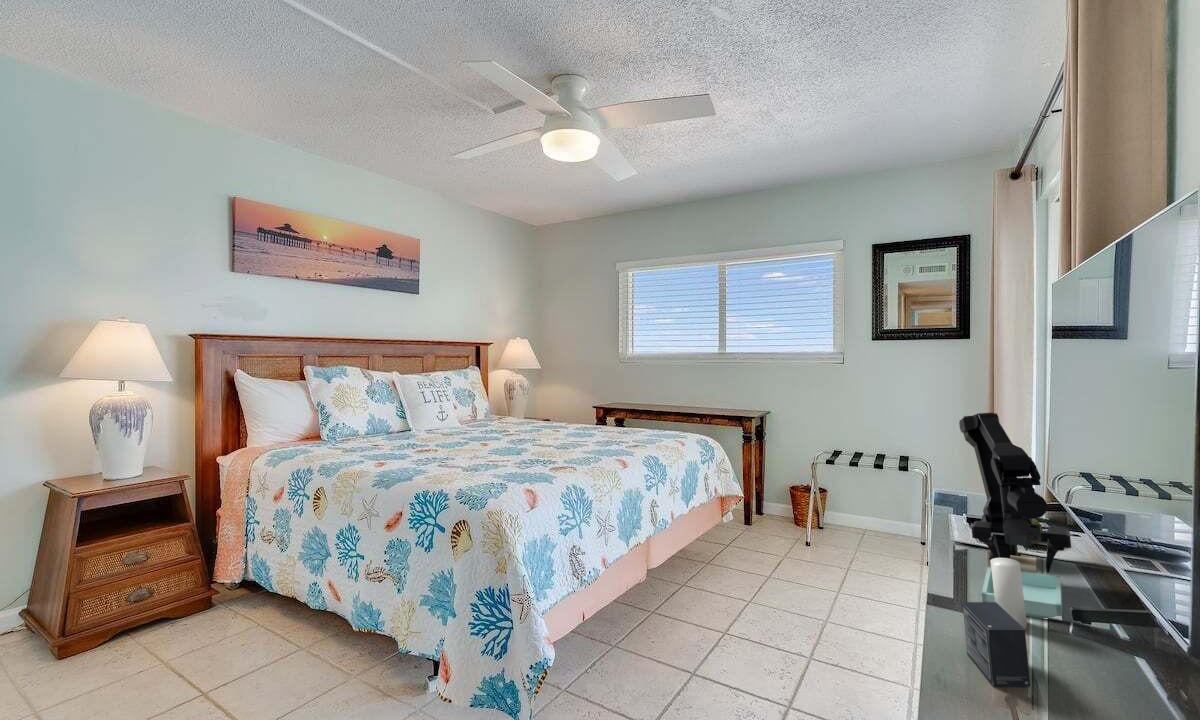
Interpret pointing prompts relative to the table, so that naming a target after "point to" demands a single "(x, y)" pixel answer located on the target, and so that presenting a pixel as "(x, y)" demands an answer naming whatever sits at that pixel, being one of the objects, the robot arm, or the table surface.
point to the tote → (1033, 593)
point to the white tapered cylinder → (1009, 588)
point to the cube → (1026, 563)
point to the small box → (996, 644)
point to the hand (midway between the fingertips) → (1023, 568)
